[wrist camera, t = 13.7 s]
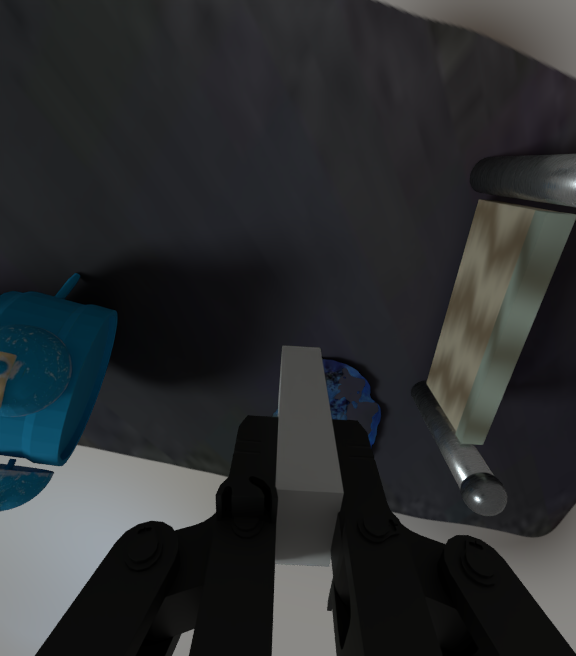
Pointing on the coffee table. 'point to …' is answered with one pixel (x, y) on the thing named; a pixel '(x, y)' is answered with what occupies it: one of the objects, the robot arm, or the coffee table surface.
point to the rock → (338, 407)
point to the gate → (493, 309)
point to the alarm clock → (47, 382)
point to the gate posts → (463, 459)
